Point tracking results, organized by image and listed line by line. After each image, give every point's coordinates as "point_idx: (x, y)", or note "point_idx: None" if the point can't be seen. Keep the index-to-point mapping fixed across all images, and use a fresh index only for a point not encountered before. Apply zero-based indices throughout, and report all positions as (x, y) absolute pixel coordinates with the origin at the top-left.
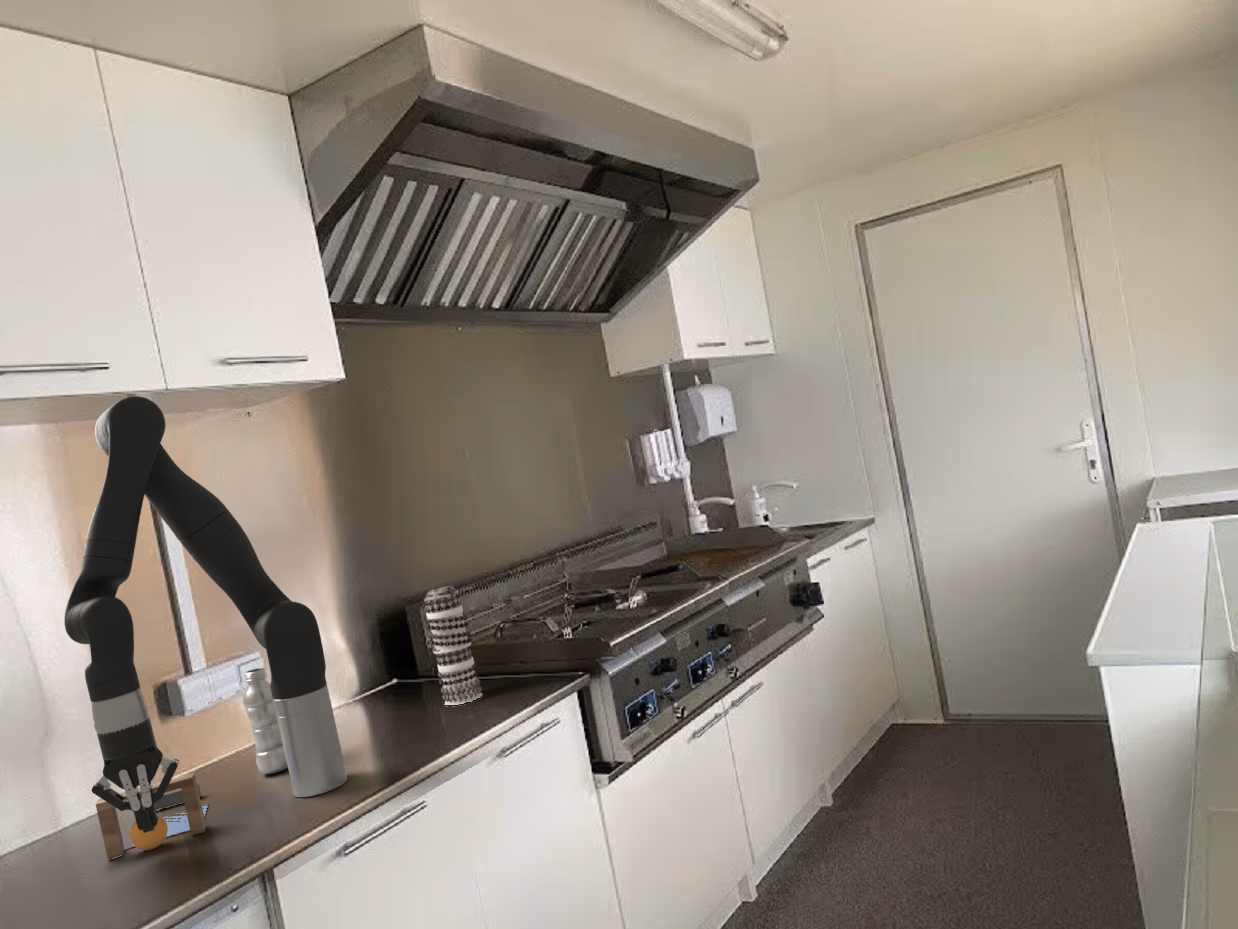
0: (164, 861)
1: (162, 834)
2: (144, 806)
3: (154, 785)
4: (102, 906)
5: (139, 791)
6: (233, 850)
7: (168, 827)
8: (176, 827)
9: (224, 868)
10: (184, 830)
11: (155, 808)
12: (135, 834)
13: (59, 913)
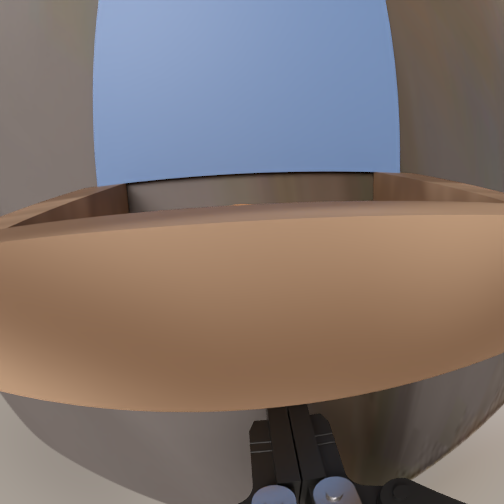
0: None
1: None
2: (299, 486)
3: (392, 300)
4: (212, 500)
5: (250, 391)
6: (430, 418)
7: (266, 46)
8: (304, 80)
9: (398, 470)
10: (345, 158)
11: (340, 461)
12: None
13: (132, 482)
